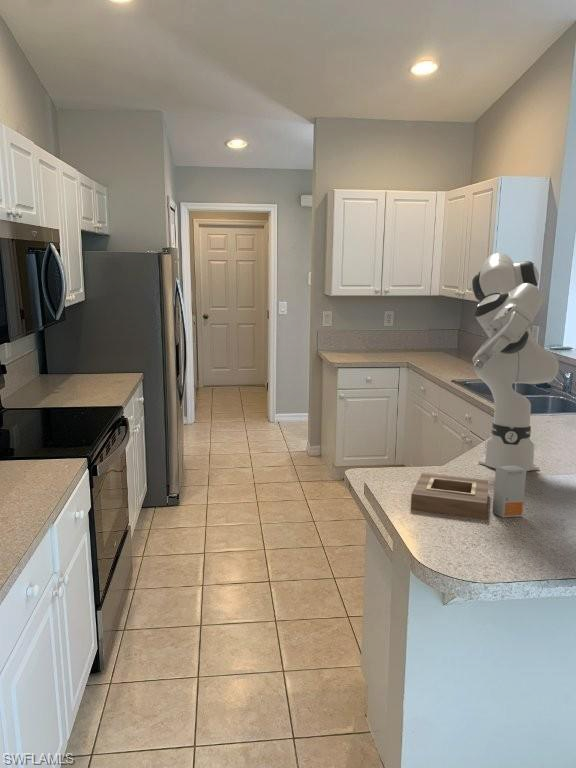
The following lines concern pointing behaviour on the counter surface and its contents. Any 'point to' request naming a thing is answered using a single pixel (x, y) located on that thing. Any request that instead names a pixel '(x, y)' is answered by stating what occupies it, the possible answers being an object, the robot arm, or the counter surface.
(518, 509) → the skincare box
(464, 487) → the walnut socket board
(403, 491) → the counter surface
